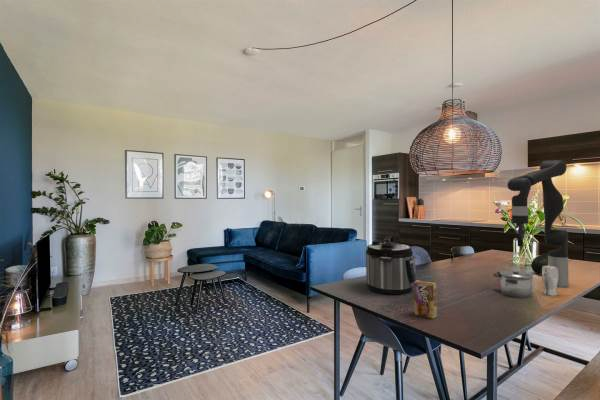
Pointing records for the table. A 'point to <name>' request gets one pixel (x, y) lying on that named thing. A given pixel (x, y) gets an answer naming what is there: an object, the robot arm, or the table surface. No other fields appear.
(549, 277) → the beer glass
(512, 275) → the lid
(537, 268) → the squash
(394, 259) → the pressure cooker
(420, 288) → the candy box
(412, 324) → the table surface
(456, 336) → the table surface
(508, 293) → the pot
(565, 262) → the robot arm
